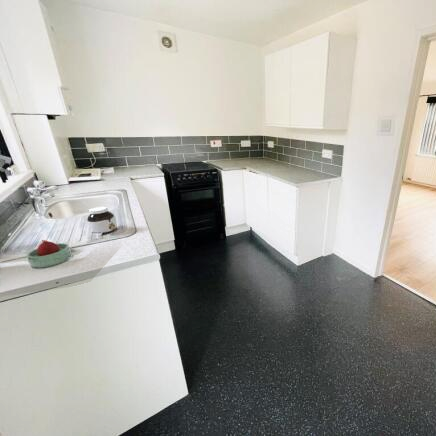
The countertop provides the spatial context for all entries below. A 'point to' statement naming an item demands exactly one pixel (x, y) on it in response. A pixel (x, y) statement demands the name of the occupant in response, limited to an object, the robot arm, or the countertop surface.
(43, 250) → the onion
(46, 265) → the green shallow round dish
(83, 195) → the countertop surface
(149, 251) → the countertop surface
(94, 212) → the spread jar
